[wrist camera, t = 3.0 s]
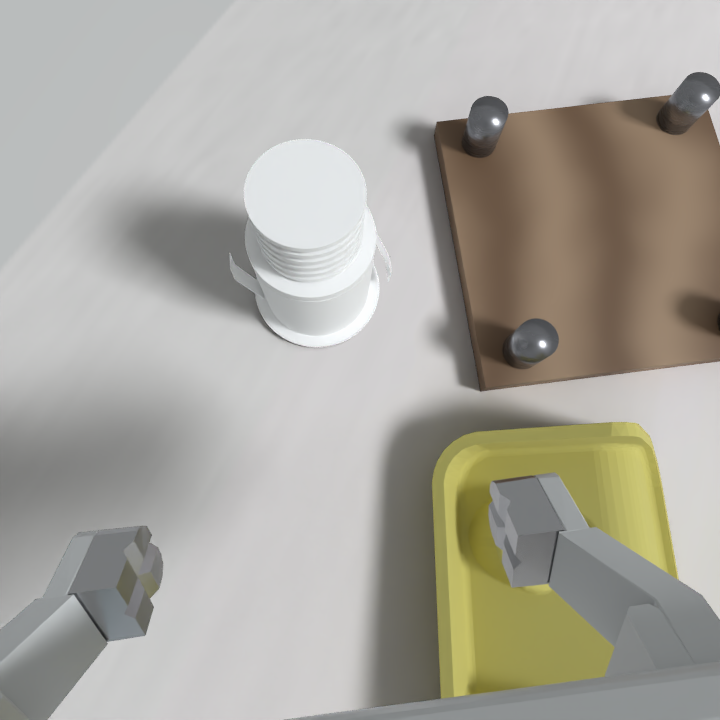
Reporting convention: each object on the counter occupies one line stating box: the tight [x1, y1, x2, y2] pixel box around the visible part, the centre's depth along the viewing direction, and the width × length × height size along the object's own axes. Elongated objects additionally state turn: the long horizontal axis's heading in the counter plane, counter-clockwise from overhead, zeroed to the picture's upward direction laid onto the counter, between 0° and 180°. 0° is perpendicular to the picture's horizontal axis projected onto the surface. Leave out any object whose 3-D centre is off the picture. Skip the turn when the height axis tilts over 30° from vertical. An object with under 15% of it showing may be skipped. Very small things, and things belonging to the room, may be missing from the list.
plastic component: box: [432, 422, 679, 699], centre depth 22 cm, size 20×7×10 cm
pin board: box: [434, 72, 720, 391], centre depth 27 cm, size 16×16×4 cm
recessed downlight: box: [229, 139, 392, 348], centre depth 23 cm, size 8×7×10 cm
